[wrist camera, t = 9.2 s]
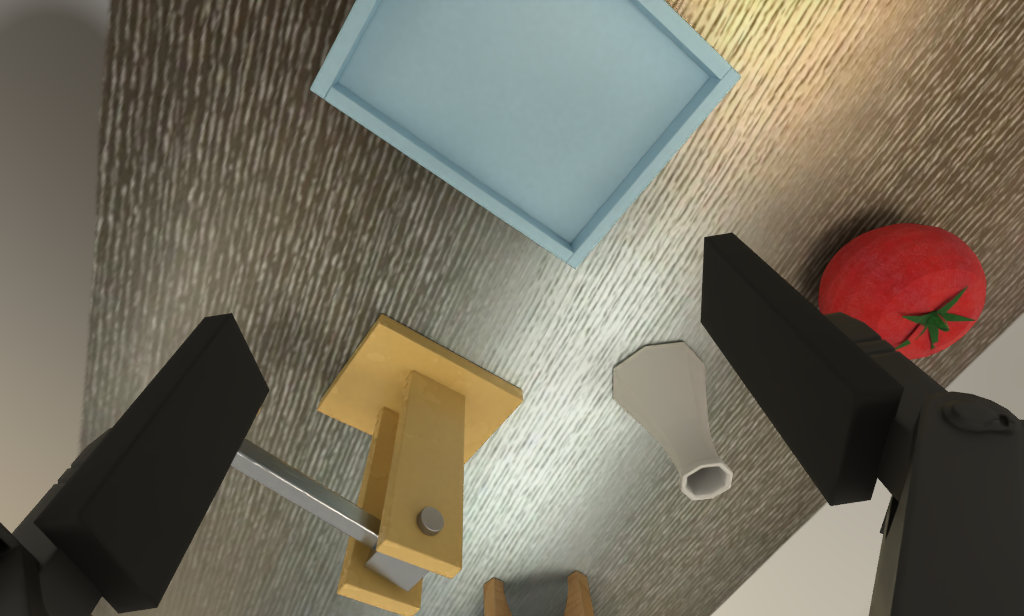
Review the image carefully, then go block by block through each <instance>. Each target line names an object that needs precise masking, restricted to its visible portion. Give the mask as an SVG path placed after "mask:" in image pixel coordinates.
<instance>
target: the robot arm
mask: <svg viewBox="0 0 1024 616" xmlns="http://www.w3.org/2000/svg"><path fill="white" fill-rule="evenodd" d="M701 323H702V325H703V326H704V327H705V329H706V330H707V332H708V333H709V335H710V336H711V337H712V339H713V340H714V342H715V343H716V344H717V346H718V347H719V349H720V350H721V352H722V353H723V354H724V356H725V357H726V359H727V360H728V361H729V363H730V364H731V366H732V367H733V369H734V370H735V371H736V373H737V374H738V376H739V377H740V378H741V380H742V381H743V383H744V384H745V386H746V387H747V388H748V390H749V391H750V393H751V394H752V395H753V397H754V398H755V400H756V401H757V403H758V404H759V405H760V407H761V408H762V410H763V411H764V412H765V414H766V415H767V417H768V418H769V420H770V421H771V422H772V424H773V425H774V427H775V428H776V429H777V431H778V432H779V434H780V435H781V437H782V438H783V439H784V441H785V442H786V444H787V445H788V446H789V448H790V449H791V451H792V452H793V454H794V455H795V456H796V458H797V459H798V461H799V462H800V463H801V465H802V466H803V468H804V469H805V471H806V472H807V473H808V475H809V476H810V478H811V479H812V481H813V482H814V483H815V485H816V486H817V488H818V489H819V490H820V492H821V493H822V495H823V496H824V498H825V499H826V500H827V502H828V503H829V505H830V506H834V505H840V504H847V503H853V502H860V501H867V500H871V497H872V494H873V490H874V487H875V484H876V481H877V477H878V479H879V480H880V481H881V482H882V483H883V485H884V486H885V487H886V488H887V489H888V490H889V492H890V493H891V494H892V497H891V500H890V503H889V506H888V509H887V512H886V515H885V518H884V521H883V524H882V528H881V530H880V533H882V534H883V539H882V545H881V550H880V556H879V561H878V567H877V573H876V578H875V584H874V589H873V595H872V601H871V606H870V613H869V616H1024V420H1019V419H1018V418H1017V417H1016V416H1015V415H1013V414H1012V413H1011V412H1010V411H1009V410H1008V409H1006V408H1004V407H1002V406H1000V405H999V404H997V403H995V402H993V401H991V400H988V399H985V398H982V397H979V396H976V395H973V394H967V393H960V392H948V391H946V390H945V389H944V388H943V387H942V386H940V385H939V384H938V383H937V382H936V381H934V380H933V379H932V378H931V377H930V376H928V375H927V374H926V373H925V372H924V371H922V370H921V369H920V368H919V367H917V366H916V365H915V364H914V363H913V362H911V361H910V360H909V359H908V358H907V357H905V356H904V355H903V354H902V353H901V352H899V351H897V352H896V350H895V348H894V347H893V346H892V345H891V344H890V343H888V342H887V341H886V340H885V339H884V340H882V338H881V336H880V335H879V334H878V333H876V332H875V331H874V330H873V329H872V328H870V327H869V326H868V325H867V324H865V323H864V322H862V321H860V320H857V319H855V318H853V317H851V316H849V315H846V314H844V313H842V312H836V313H830V314H824V315H823V314H822V313H821V312H820V311H819V310H818V309H817V308H815V307H814V306H813V305H812V304H811V303H810V302H809V301H808V300H807V299H805V298H804V297H803V296H802V295H801V294H800V293H799V292H798V291H797V290H795V289H794V288H793V287H792V286H791V285H790V284H789V283H788V282H787V281H786V280H784V279H783V278H782V277H781V276H780V275H779V274H778V273H777V272H776V271H774V270H773V269H772V268H771V267H770V266H769V265H768V264H767V263H766V262H764V261H763V260H762V259H761V258H760V257H759V256H758V255H757V254H756V253H754V252H753V251H752V250H751V249H750V248H749V247H748V246H747V245H746V244H744V243H743V242H742V241H741V240H740V239H739V238H738V237H737V236H736V235H734V234H733V233H727V234H721V235H715V236H709V237H704V258H703V281H702V304H701ZM268 392H269V388H268V386H267V384H266V382H265V380H264V378H263V376H262V374H261V372H260V370H259V368H258V366H257V363H256V361H255V359H254V357H253V355H252V353H251V351H250V349H249V347H248V345H247V343H246V341H245V339H244V337H243V335H242V333H241V331H240V329H239V327H238V325H237V323H236V321H235V319H234V316H233V314H232V313H230V314H223V315H217V316H211V317H205V318H204V319H203V320H202V321H201V323H200V324H199V325H198V326H197V327H196V329H195V330H194V331H193V332H192V333H191V335H190V336H189V337H188V338H187V339H186V340H185V342H184V343H183V344H182V345H181V346H180V348H179V349H178V350H177V351H176V352H175V354H174V355H173V356H172V357H171V358H170V360H169V361H168V362H167V363H166V364H165V366H164V367H163V368H162V369H161V370H160V372H159V373H158V374H157V375H156V376H155V377H154V379H153V380H152V381H151V382H150V383H149V385H148V386H147V387H146V388H145V389H144V391H143V392H142V393H141V394H140V395H139V397H138V398H137V399H136V400H135V401H134V403H133V404H132V405H131V406H130V407H129V409H128V410H127V411H126V412H125V413H124V414H123V416H122V417H121V418H120V419H119V420H118V422H117V423H116V424H115V425H114V426H113V428H110V429H108V430H107V431H106V432H105V433H103V434H102V435H101V436H99V437H98V438H97V439H96V440H94V441H93V442H92V443H90V444H89V445H88V446H87V447H86V448H85V449H84V450H83V451H82V453H81V454H80V455H79V456H78V457H77V458H76V460H75V461H74V462H73V463H72V465H71V468H69V469H67V470H66V471H65V472H64V474H63V475H62V476H61V477H60V478H59V479H58V484H55V485H53V486H52V488H51V489H50V490H49V491H48V492H47V493H46V494H45V496H44V497H43V498H42V499H41V500H40V502H39V503H38V504H37V505H36V506H35V507H34V509H33V510H32V511H31V512H30V513H29V514H28V516H27V517H26V518H25V519H24V520H23V521H22V522H21V524H20V525H19V526H18V527H17V528H16V529H15V531H14V532H13V533H12V534H11V533H10V532H9V531H8V530H7V529H6V528H5V527H4V526H3V525H2V524H1V523H0V616H92V615H91V613H92V611H93V610H94V608H95V606H96V605H97V603H98V602H99V600H100V598H101V597H102V596H103V597H104V598H105V599H106V601H107V602H108V603H109V604H110V605H111V606H112V607H113V608H114V609H115V610H116V611H117V612H118V613H125V612H131V611H138V610H145V609H151V608H157V607H158V605H159V603H160V601H161V599H162V597H163V595H164V593H165V591H166V589H167V587H168V585H169V583H170V581H171V580H172V578H173V576H174V574H175V572H176V570H177V568H178V566H179V564H180V562H181V560H182V558H183V556H184V554H185V552H186V551H187V549H188V547H189V545H190V543H191V541H192V539H193V537H194V535H195V533H196V531H197V529H198V527H199V525H200V524H201V522H202V520H203V518H204V516H205V514H206V512H207V510H208V508H209V506H210V504H211V502H212V500H213V498H214V496H215V495H216V493H217V491H218V489H219V487H220V485H221V483H222V481H223V479H224V477H225V475H226V473H227V471H228V469H229V467H230V466H231V464H232V462H233V460H234V458H235V456H236V454H237V452H238V450H239V448H240V446H241V444H242V442H243V440H244V438H245V437H246V435H247V433H248V431H249V429H250V427H251V425H252V423H253V421H254V419H255V417H256V415H257V413H258V411H259V409H260V408H261V406H262V404H263V402H264V400H265V398H266V396H267V394H268Z"/></svg>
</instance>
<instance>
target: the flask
mask: <svg viewBox="0 0 1024 616" xmlns="http://www.w3.org/2000/svg"><path fill="white" fill-rule="evenodd" d="M613 399H614V400H615V401H616V402H617V403H618V404H619V405H620V406H621V407H622V408H623V409H625V410H626V411H627V412H628V413H629V414H630V415H631V416H632V417H633V418H634V419H635V420H636V421H637V422H638V423H640V424H641V425H642V426H643V427H644V428H645V429H646V430H647V431H648V432H649V433H650V434H651V435H652V436H653V437H654V438H655V439H656V440H657V441H658V442H659V443H660V444H661V445H662V447H663V448H664V450H665V451H666V452H667V454H668V455H669V457H670V458H671V459H672V461H673V462H674V464H675V466H676V468H677V470H678V472H679V474H680V484H679V485H680V489H681V491H682V492H683V493H684V494H686V495H687V496H688V497H689V498H690V499H691V500H692V501H693V500H702V499H710V498H714V497H716V496H717V495H719V494H721V493H723V492H724V491H726V490H728V489H729V488H731V482H732V476H733V472H732V470H731V469H730V468H729V467H728V466H727V465H726V464H725V463H724V462H723V461H722V460H721V459H720V458H719V457H718V455H717V453H716V451H715V448H714V445H713V441H712V438H711V434H710V431H709V424H708V413H707V402H706V380H705V365H704V364H703V362H702V361H701V360H700V359H699V358H698V357H697V356H696V355H695V354H694V352H693V351H692V350H691V349H690V348H689V347H688V346H687V345H686V344H685V342H679V343H670V344H661V345H652V346H645V347H643V348H642V349H640V350H639V351H638V352H636V353H635V354H633V355H632V356H631V357H629V358H628V359H626V360H625V361H624V362H622V363H621V364H619V365H618V366H617V367H615V368H614V369H613Z"/></svg>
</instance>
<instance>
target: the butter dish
mask: <svg viewBox="0 0 1024 616" xmlns="http://www.w3.org/2000/svg"><path fill="white" fill-rule="evenodd" d="M740 78H741V75H740V74H739V73H738V72H737V71H736V70H735V69H734V68H732V66H731V65H730V64H729V63H728V62H727V61H726V60H725V59H724V58H723V57H722V56H721V55H720V54H719V53H718V52H717V51H716V50H715V49H714V48H713V47H711V46H710V45H709V44H708V43H707V42H706V41H705V40H704V39H703V38H702V37H701V36H700V35H699V34H698V33H697V32H696V31H695V30H694V29H693V28H692V27H691V26H690V25H689V24H688V23H687V22H686V21H685V20H684V19H683V18H682V17H681V16H680V15H679V14H678V13H677V12H676V11H675V10H674V9H673V8H672V7H671V6H670V5H669V4H668V3H667V2H666V1H665V0H356V2H355V3H354V5H353V7H352V9H351V11H350V13H349V15H348V17H347V19H346V21H345V23H344V25H343V26H342V28H341V30H340V32H339V34H338V36H337V38H336V40H335V42H334V44H333V46H332V48H331V49H330V51H329V53H328V55H327V57H326V59H325V61H324V63H323V65H322V67H321V69H320V71H319V72H318V74H317V76H316V78H315V80H314V82H313V84H312V86H311V88H310V90H311V91H312V92H314V93H315V94H317V95H318V96H320V97H321V98H323V99H324V98H325V101H327V102H328V103H330V104H331V105H333V106H334V107H336V108H337V109H339V110H340V111H342V112H343V113H345V114H346V115H348V116H349V117H351V118H352V119H354V120H355V121H357V122H358V123H359V124H361V125H362V126H364V127H365V128H367V129H368V130H370V131H371V132H373V133H374V134H376V135H377V136H379V137H380V138H382V139H383V140H385V141H386V142H388V143H389V144H391V145H392V146H394V147H395V148H397V149H398V150H399V151H401V152H402V153H404V154H405V155H407V156H408V157H410V158H411V159H413V160H414V161H416V162H417V163H419V164H420V165H422V166H423V167H425V168H426V169H428V170H429V171H431V172H432V173H434V174H435V175H436V176H438V177H439V178H441V179H442V180H444V181H445V182H447V183H448V184H450V185H451V186H453V187H454V188H456V189H457V190H459V191H460V192H462V193H463V194H465V195H466V196H468V197H469V198H471V199H472V200H474V201H475V202H476V203H478V204H479V205H481V206H482V207H484V208H485V209H487V210H488V211H490V212H491V213H493V214H494V215H496V216H497V217H499V218H500V219H502V220H503V221H505V222H506V223H508V224H509V225H511V226H512V227H513V228H515V229H516V230H518V231H519V232H521V233H522V234H524V235H525V236H527V237H528V238H530V239H531V240H533V241H534V242H536V243H537V244H539V245H540V246H542V247H543V248H545V249H546V250H548V251H549V252H550V253H552V254H553V255H555V256H556V257H558V258H559V259H561V260H562V261H564V262H566V263H567V264H568V265H570V266H571V267H573V268H574V269H576V268H577V267H578V266H579V265H580V263H581V262H582V261H583V260H584V259H585V258H586V257H587V255H588V254H589V253H590V252H591V251H592V250H593V248H594V247H595V246H596V245H597V244H598V243H599V241H600V240H601V239H602V238H603V237H604V236H605V234H606V233H607V232H608V231H609V230H610V229H611V228H612V226H613V225H614V224H615V223H616V222H617V221H618V219H619V218H620V217H621V216H622V215H623V214H624V212H625V211H626V210H627V209H628V208H629V207H630V206H631V204H632V203H633V202H634V201H635V200H636V199H637V197H638V196H639V195H640V194H641V193H642V192H643V190H644V189H645V188H646V187H647V186H648V185H649V183H650V182H651V181H652V180H653V179H654V178H655V177H656V175H657V174H658V173H659V172H660V171H661V170H662V168H663V167H664V166H665V165H666V164H667V163H668V161H669V160H670V159H671V158H672V157H673V156H674V154H675V153H676V152H677V151H678V150H679V149H680V148H681V146H682V145H683V144H684V143H685V142H686V141H687V139H688V138H689V137H690V136H691V135H692V134H693V132H694V131H695V130H696V129H697V128H698V127H699V125H700V124H701V123H702V122H703V121H704V120H705V119H706V117H707V116H708V115H709V114H710V113H711V112H712V110H713V109H714V108H715V107H716V106H717V105H718V103H719V102H720V101H721V100H722V99H723V98H724V96H725V95H726V94H727V93H728V92H729V91H730V90H731V88H732V87H733V86H734V85H735V84H736V83H737V81H738V80H739V79H740Z"/></svg>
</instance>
